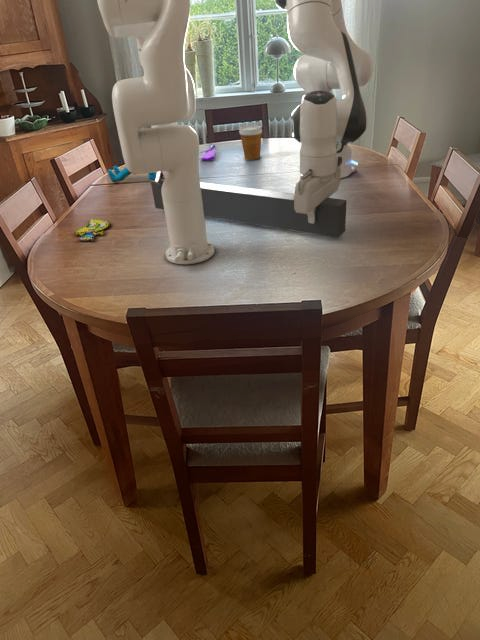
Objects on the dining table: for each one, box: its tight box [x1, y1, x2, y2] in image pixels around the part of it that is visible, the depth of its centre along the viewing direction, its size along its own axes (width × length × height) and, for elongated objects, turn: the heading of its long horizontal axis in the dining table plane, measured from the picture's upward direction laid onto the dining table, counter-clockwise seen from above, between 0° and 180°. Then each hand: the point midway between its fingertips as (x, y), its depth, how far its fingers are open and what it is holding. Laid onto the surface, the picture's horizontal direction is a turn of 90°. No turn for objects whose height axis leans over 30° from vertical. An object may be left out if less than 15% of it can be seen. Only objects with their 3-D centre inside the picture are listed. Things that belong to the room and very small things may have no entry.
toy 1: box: [74, 219, 111, 242], centre depth 143 cm, size 10×1×15 cm
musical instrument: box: [199, 144, 216, 162], centre depth 208 cm, size 24×2×20 cm
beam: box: [150, 180, 348, 239], centre depth 136 cm, size 62×5×8 cm, turn 58°
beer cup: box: [238, 124, 263, 161], centre depth 196 cm, size 10×10×12 cm
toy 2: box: [107, 165, 156, 183], centre depth 182 cm, size 17×11×30 cm
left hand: (175, 198), depth 148 cm, fingers closed on beam, 4 cm apart
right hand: (317, 218), depth 125 cm, fingers closed on beam, 4 cm apart
